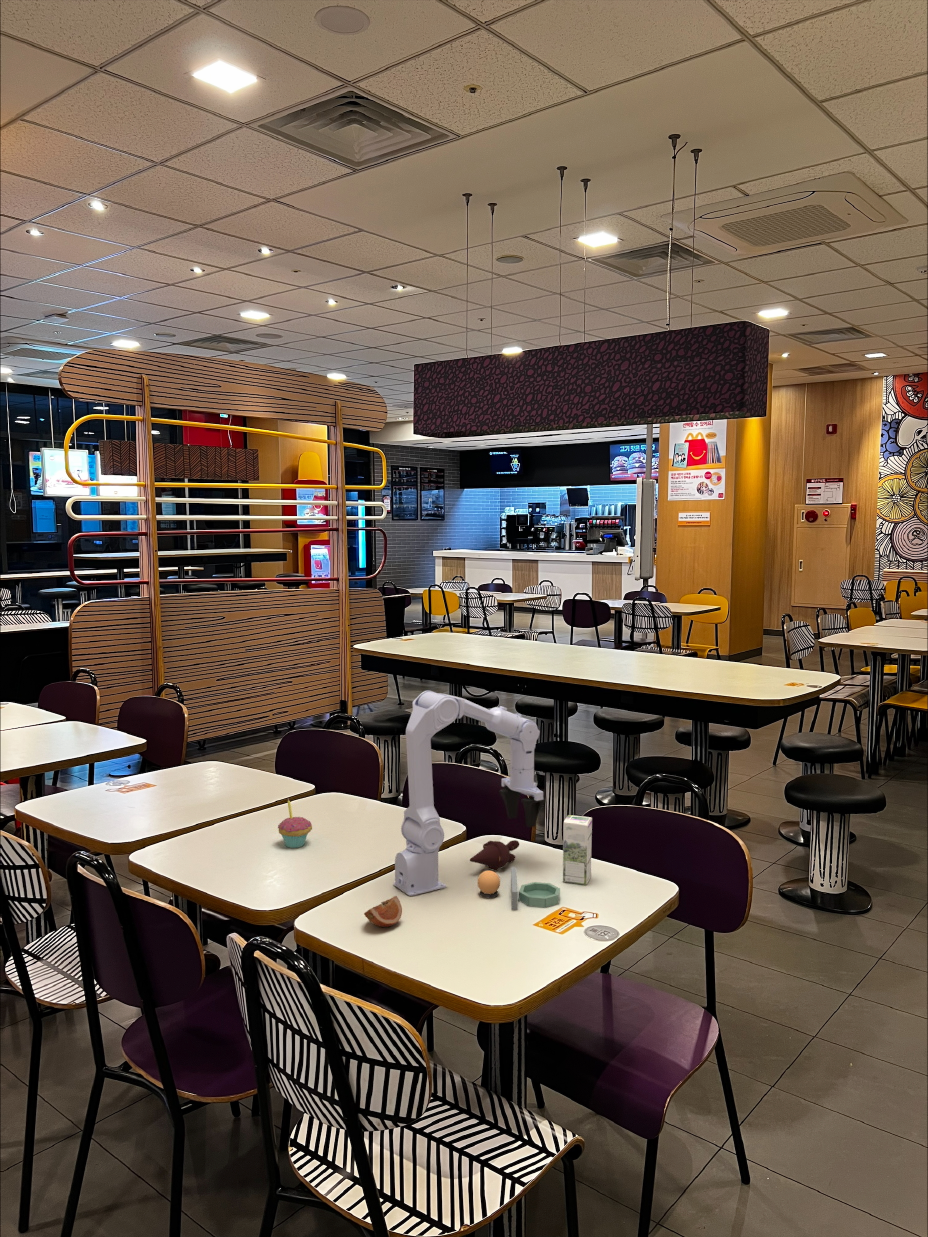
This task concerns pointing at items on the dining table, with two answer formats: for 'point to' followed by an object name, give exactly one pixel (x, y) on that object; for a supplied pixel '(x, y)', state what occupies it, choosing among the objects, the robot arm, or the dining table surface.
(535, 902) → the dish
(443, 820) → the dining table surface
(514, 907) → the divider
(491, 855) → the icecream
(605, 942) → the dining table surface
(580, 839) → the syrup box
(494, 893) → the ring
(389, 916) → the fruit slice
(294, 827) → the cupcake
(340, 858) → the dining table surface
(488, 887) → the ball
